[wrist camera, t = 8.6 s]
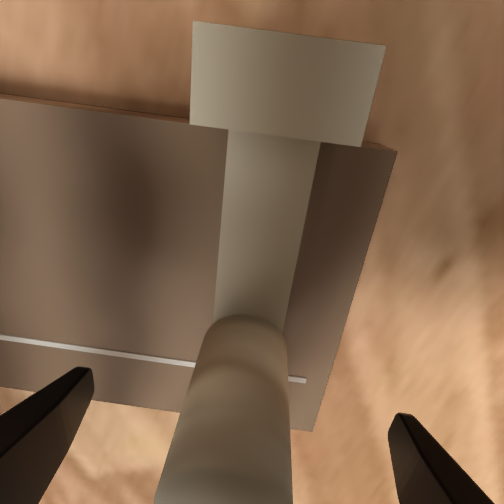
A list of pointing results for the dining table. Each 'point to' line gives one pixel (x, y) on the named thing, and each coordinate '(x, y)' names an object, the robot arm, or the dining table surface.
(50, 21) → the dining table surface
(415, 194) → the dining table surface
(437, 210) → the dining table surface
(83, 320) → the board
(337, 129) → the lever handle
